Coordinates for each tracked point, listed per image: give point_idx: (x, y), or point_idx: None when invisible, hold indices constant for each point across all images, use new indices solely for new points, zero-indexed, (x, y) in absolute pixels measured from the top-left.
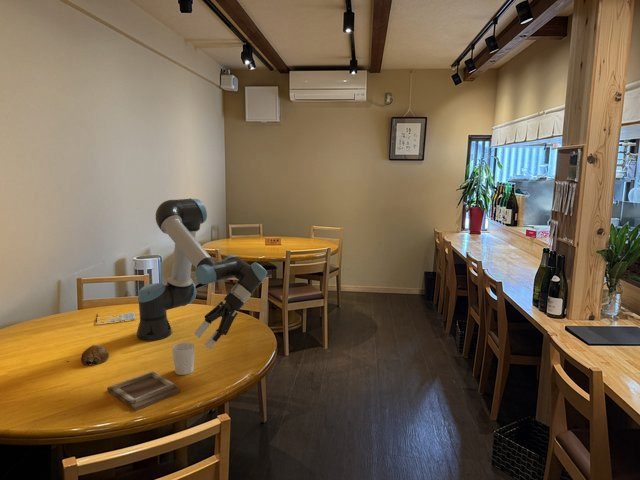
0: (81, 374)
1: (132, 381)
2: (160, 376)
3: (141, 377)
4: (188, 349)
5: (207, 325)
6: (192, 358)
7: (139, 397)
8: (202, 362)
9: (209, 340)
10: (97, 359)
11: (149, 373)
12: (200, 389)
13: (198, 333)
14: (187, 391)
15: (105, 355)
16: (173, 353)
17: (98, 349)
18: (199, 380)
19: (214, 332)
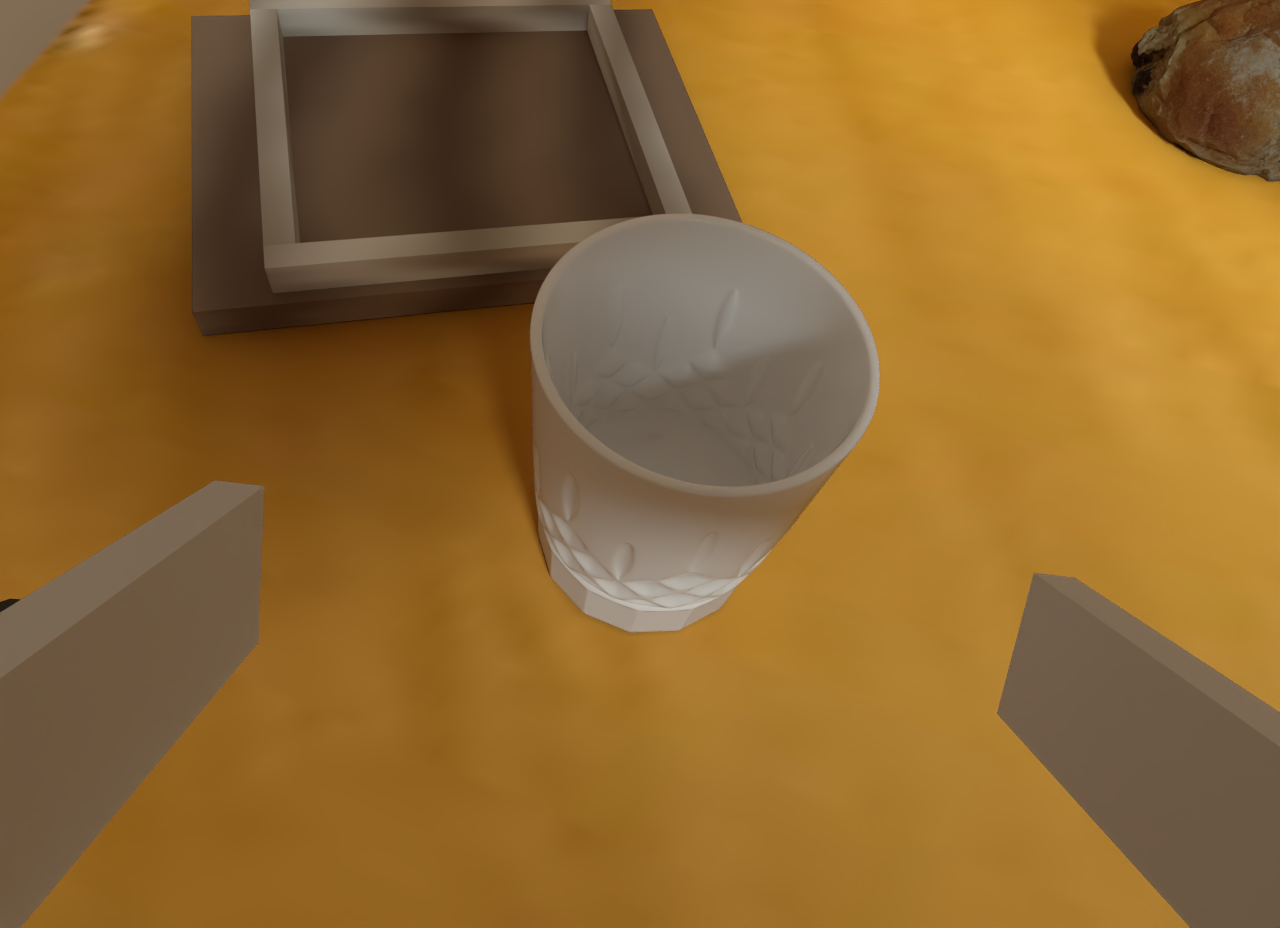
0: (996, 17)
1: (618, 103)
2: (533, 240)
3: (640, 153)
4: (532, 349)
5: (1240, 914)
6: (558, 512)
7: (257, 30)
8: (778, 817)
9: (140, 537)
10: (1161, 72)
11: (663, 201)
12: (68, 499)
13: (1051, 664)
14: (153, 388)
15: (1208, 104)
16: (678, 264)
17: (1263, 33)
18: (290, 576)
19: (30, 645)
